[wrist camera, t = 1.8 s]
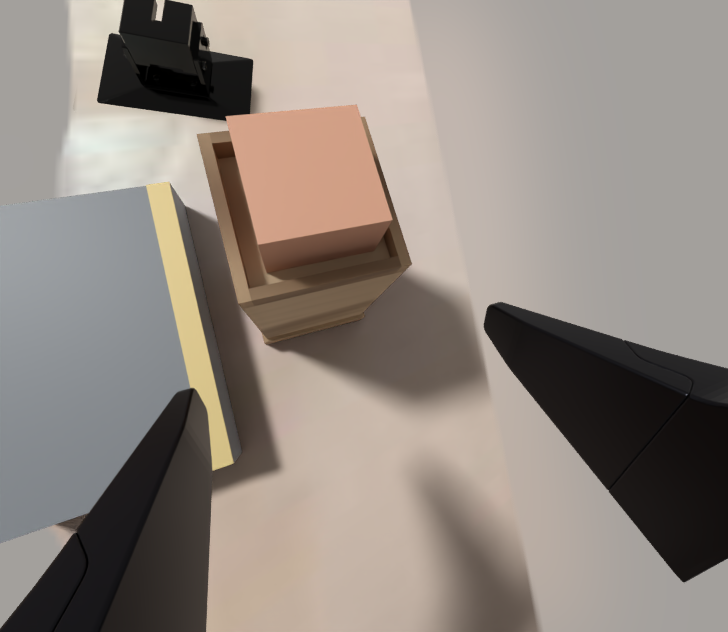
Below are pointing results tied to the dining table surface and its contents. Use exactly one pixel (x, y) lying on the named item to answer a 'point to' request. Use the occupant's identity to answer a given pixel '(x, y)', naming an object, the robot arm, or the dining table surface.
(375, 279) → the open wooden bin
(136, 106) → the black slotted stand
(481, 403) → the dining table surface
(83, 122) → the dining table surface
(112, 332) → the dock
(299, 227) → the block
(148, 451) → the robot arm
